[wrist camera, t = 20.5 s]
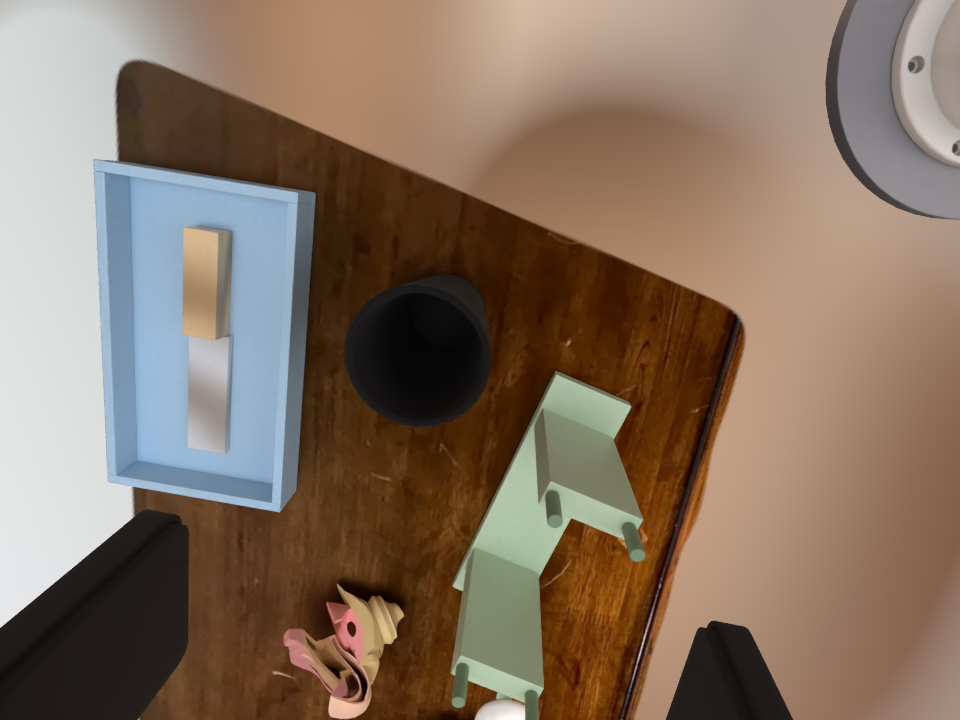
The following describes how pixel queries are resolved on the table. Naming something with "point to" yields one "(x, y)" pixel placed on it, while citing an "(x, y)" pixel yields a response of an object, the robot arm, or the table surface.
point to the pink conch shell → (348, 650)
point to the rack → (538, 535)
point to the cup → (420, 351)
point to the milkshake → (498, 706)
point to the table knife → (208, 335)
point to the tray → (165, 350)
